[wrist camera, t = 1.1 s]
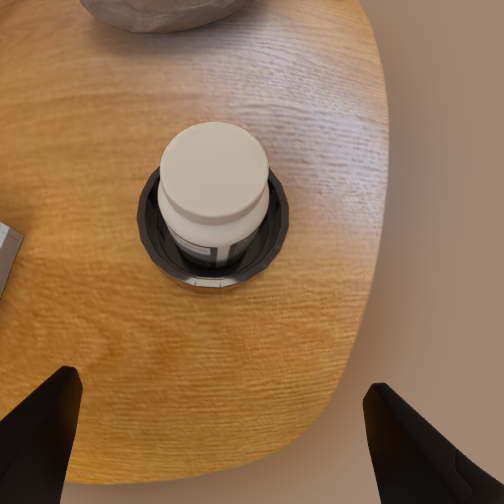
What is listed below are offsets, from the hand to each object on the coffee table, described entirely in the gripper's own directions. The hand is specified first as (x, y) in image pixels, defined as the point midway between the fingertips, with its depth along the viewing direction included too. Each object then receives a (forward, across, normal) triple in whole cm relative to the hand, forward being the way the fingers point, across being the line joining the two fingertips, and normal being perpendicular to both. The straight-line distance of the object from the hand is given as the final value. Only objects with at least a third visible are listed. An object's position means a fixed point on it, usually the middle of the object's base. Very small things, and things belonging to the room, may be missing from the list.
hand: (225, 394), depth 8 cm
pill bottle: (+15, +1, +2) cm, 16 cm away
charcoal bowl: (+15, +1, +2) cm, 16 cm away
